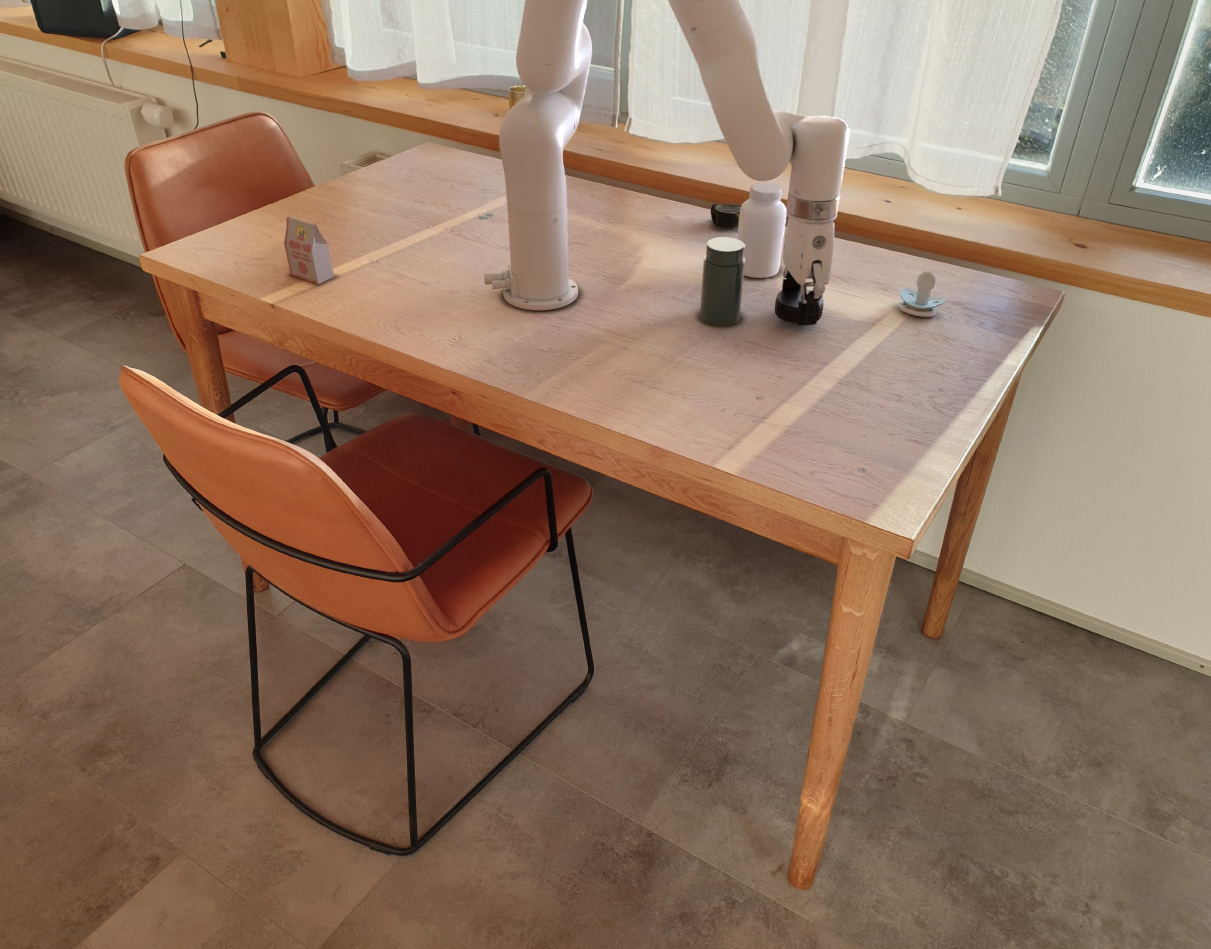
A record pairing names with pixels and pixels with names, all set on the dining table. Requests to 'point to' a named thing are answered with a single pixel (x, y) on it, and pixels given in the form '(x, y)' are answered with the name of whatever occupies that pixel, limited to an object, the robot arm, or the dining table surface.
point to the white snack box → (307, 252)
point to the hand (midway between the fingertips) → (798, 312)
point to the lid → (791, 304)
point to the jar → (722, 281)
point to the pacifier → (920, 297)
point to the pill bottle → (762, 230)
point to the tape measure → (726, 215)
